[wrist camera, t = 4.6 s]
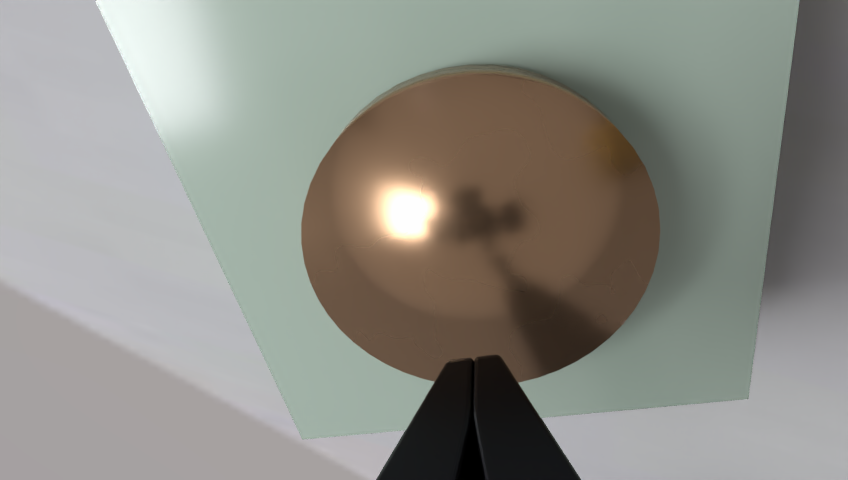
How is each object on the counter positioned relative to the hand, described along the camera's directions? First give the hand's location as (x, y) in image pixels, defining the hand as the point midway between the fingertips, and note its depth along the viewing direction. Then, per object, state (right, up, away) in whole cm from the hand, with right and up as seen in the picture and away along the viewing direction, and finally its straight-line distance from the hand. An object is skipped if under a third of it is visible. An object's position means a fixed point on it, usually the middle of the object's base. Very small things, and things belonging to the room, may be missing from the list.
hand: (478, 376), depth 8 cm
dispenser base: (+1, +5, +9) cm, 10 cm away
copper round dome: (+1, +4, +8) cm, 9 cm away
